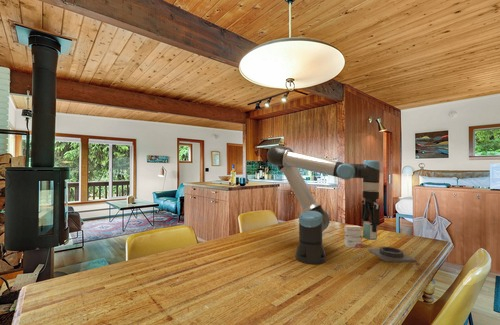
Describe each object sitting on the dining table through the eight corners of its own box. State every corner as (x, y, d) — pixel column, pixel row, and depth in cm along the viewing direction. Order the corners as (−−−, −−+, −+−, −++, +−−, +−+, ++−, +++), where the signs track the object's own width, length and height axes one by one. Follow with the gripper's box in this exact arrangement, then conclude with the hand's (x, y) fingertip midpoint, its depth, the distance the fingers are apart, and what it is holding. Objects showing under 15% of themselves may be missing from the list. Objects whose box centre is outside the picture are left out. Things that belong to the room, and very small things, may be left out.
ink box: (358, 245, 147) (358, 225, 147) (361, 247, 142) (361, 227, 142) (344, 244, 148) (344, 224, 148) (346, 247, 143) (346, 226, 143)
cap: (366, 239, 121) (366, 225, 121) (360, 235, 127) (360, 221, 127) (379, 239, 121) (379, 225, 121) (372, 236, 127) (372, 222, 127)
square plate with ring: (384, 261, 122) (384, 255, 122) (368, 250, 138) (368, 245, 138) (416, 261, 122) (416, 255, 122) (396, 250, 138) (396, 245, 138)
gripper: (389, 193, 114) (387, 242, 115) (368, 188, 134) (367, 230, 134) (373, 192, 114) (371, 242, 114) (355, 188, 134) (353, 230, 134)
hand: (369, 235), depth 124 cm, fingers closed on cap, 6 cm apart
